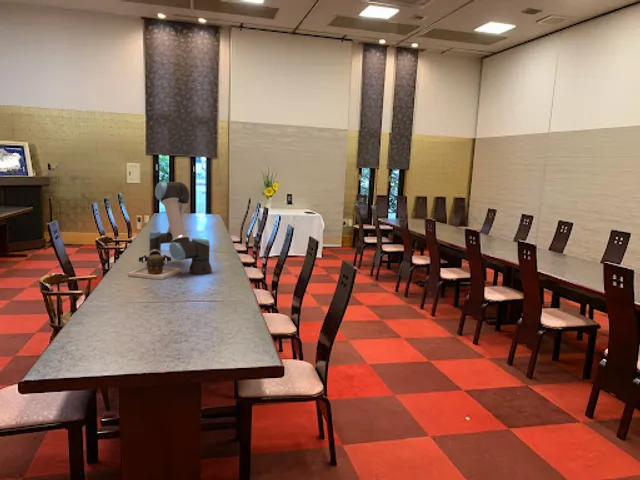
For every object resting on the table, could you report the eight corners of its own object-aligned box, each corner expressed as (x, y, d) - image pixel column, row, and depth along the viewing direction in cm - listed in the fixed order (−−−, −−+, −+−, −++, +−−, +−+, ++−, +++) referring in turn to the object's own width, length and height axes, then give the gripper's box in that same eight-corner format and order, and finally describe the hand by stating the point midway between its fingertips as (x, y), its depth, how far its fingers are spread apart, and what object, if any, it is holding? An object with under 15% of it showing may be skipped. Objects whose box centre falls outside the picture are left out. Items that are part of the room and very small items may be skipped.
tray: (180, 272, 320) (180, 268, 320) (162, 280, 297) (162, 276, 296) (148, 268, 324) (148, 265, 324) (127, 276, 301) (127, 272, 301)
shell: (166, 271, 316) (166, 253, 314) (159, 275, 305) (159, 257, 303) (151, 270, 317) (151, 252, 315) (143, 274, 306) (143, 255, 304)
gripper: (174, 260, 331) (175, 267, 311) (135, 261, 322) (134, 268, 303) (174, 250, 330) (175, 256, 310) (135, 250, 321) (134, 256, 302)
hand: (155, 261), depth 306 cm, fingers open, 13 cm apart
